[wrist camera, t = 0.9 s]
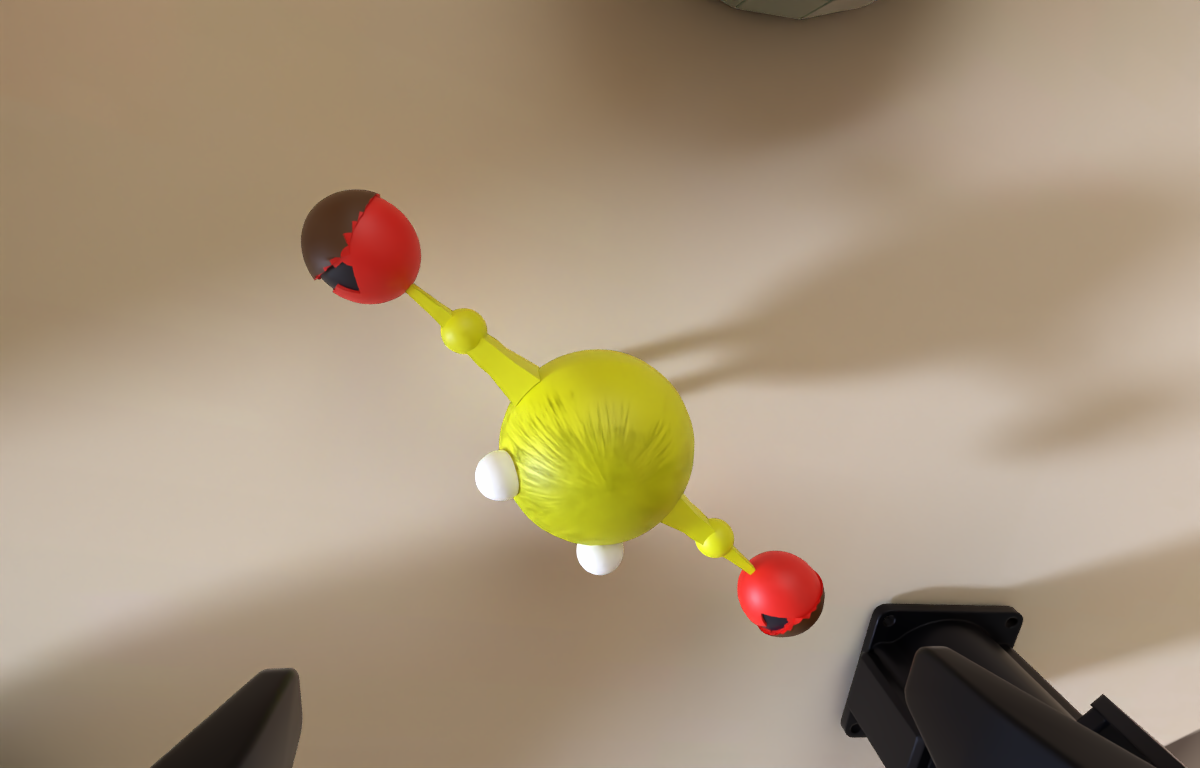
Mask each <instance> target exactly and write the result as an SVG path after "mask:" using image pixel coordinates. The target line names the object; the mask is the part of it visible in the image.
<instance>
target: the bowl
mask: <svg viewBox="0 0 1200 768" xmlns="http://www.w3.org/2000/svg"><path fill="white" fill-rule="evenodd" d="M721 1H722V2H724V3H726V4H728V5H729V6H731V7H733V8H735V7H736V8H737V9H741V10H746V11H752V12H758V13H764V14H770V15H776V16H782V17H788V18H794V19H807V18H812V17H816V16H821V15H826V14H831V13H836V12H841V11H846V10H850V9H855V8H860V7H864V6H866V5H869V4H871V3H873V2H875V1H877V0H721Z"/></svg>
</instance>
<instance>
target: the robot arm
mask: <svg viewBox="0 0 1200 768" xmlns="http://www.w3.org/2000/svg"><path fill="white" fill-rule="evenodd" d="M887 616H888V617H887ZM886 617H887V618H886ZM885 618H886V619H885ZM1022 622H1023V617H1022V615H1021V614H1020V613H1018V612H1017V611H1016V610H1015V609H1014V608H1013V607H1010V606H975V605H925V604H882V605H880V606H878V607H877V608H876V609H875V610H874V612H873V614H872V617H871V620H870V623H869V627H868V630H867V634H866V637H865V640H864V644H863V647H862V651H861V654H860V657H859V661H858V664H857V668H856V671H855V674H854V678H853V681H852V685H851V688H850V691H849V695H848V698H847V702H846V705H845V709H844V712H843V715H842V719H841V726H842V728H843V729H844V731H845V733H846V735H848V736H849V737H854V738H855V737H867V738H868V740H869V741H870V743H871V745H872V746H873V748H874V749H875V751H876V753H877V754H878V756H879V758H880V759H881V761H882V762H883V764H884V766H885V767H886V768H1188V767H1187V766H1186V765H1184V764H1183V763H1182V762H1181V761H1180V760H1179V759H1178V758H1176V757H1175V756H1174V755H1173V754H1172V753H1171V752H1169V751H1168V750H1167V749H1166V748H1165V747H1164V746H1163V745H1161V744H1160V743H1159V742H1158V741H1157V740H1156V739H1154V738H1153V737H1152V736H1151V735H1150V734H1149V733H1148V732H1146V731H1145V730H1144V729H1143V728H1142V727H1141V726H1139V725H1138V724H1137V723H1136V722H1135V721H1134V720H1132V719H1131V718H1130V717H1129V716H1128V715H1127V714H1125V713H1124V712H1123V711H1122V710H1121V709H1120V708H1118V707H1117V706H1116V705H1115V704H1114V703H1113V702H1112V701H1110V700H1109V699H1108V698H1107V697H1106V696H1105V695H1103V694H1102V695H1101V696H1100V697H1099V698H1098V699H1096V700H1095V701H1094V702H1093V703H1092V704H1090V705H1091V706H1092V707H1093V708H1091V709H1090V710H1089V711H1088V712H1087V713H1085V714H1084V715H1081V714H1080V713H1079V712H1078V711H1077V710H1076V709H1075V708H1074V707H1073V706H1072V705H1071V704H1070V703H1069V702H1068V701H1067V700H1066V699H1065V698H1064V697H1063V696H1062V695H1061V694H1060V693H1058V692H1057V691H1056V690H1055V689H1054V688H1053V687H1052V686H1051V685H1050V684H1049V683H1048V682H1047V681H1046V680H1045V679H1044V678H1043V677H1042V676H1041V675H1040V674H1039V673H1038V672H1036V671H1035V670H1034V669H1033V668H1032V667H1031V666H1030V665H1029V664H1028V663H1027V662H1026V661H1025V660H1024V659H1023V658H1022V657H1021V656H1020V655H1019V654H1018V653H1017V652H1016V651H1015V650H1013V646H1014V644H1015V641H1016V638H1017V636H1018V633H1019V630H1020V628H1021V625H1022ZM301 729H302V705H301V693H300V682H299V675H298V673H297V671H296V670H295V669H293V668H280V669H266V670H263V671H261V672H259V673H258V674H257V675H256V676H255V677H253V678H252V679H251V680H250V681H249V682H248V683H247V684H245V685H244V686H243V687H242V688H241V689H240V690H239V691H237V692H236V693H235V694H234V695H233V696H232V697H230V698H229V699H228V700H227V701H226V702H225V703H224V704H222V705H221V706H220V707H219V708H218V709H217V710H216V711H214V712H213V713H212V714H211V715H210V716H209V717H208V718H206V719H205V720H204V721H203V722H202V723H201V724H200V725H198V726H197V727H196V728H195V729H194V730H193V731H192V732H190V733H189V734H188V735H187V736H186V737H185V738H184V739H182V740H181V741H180V742H179V743H178V744H177V745H175V746H174V747H173V748H172V749H171V750H170V751H169V752H167V753H166V754H165V755H164V756H163V757H162V758H161V759H159V760H158V761H157V762H156V763H155V764H154V765H153V766H151V767H150V768H292V765H293V761H294V758H295V754H296V750H297V746H298V742H299V738H300V734H301Z"/></svg>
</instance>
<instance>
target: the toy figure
mask: <svg viewBox="0 0 1200 768" xmlns="http://www.w3.org/2000/svg"><path fill="white" fill-rule="evenodd" d="M301 247H302V253H303V257H304V261H305V264H306V266H307V268H308V270H309V272H310V274H311V276H312V277H313V279H314V280H316V279H321V278H322V279H323V280H324V281H325V282H326V283H327V284H328V285H329V286H331V287H332V288H333V293H335V294H337V295H338V296H340V297H342V298H344V299H347V300H349V301H353V302H356V303H362V304H379V303H384V302H387V301H391V300H393V299H395V298H397V297H399V296H401V295H402V294H404V293H405V292H406V293H407V294H408V295H409V296H410V297H411V298H413V299H414V300H415V301H416V302H417V303H418V304H419V305H420V306H421V307H422V308H423V309H424V310H425V311H427V312H428V313H429V314H430V315H431V316H432V317H433V318H434V319H435V320H436V321H437V322H438V323H439V324H440V326H441V337H442V340H443V342H444V343H445V345H446V346H447V347H448V348H449V349H450V350H452V351H454V352H456V353H459V354H468V355H469V356H470V357H471V358H472V359H473V361H474V362H475V363H476V364H477V365H478V366H479V367H480V368H482V369H483V370H484V371H485V372H487V373H488V374H489V375H490V376H491V378H492V379H493V380H494V381H495V383H496V384H497V385H498V386H499V388H500V389H501V390H502V391H503V392H504V394H505V395H506V396H507V397H508V399H509V400H510V401H511V402H510V404H509V406H508V409H507V411H506V414H505V417H504V420H503V423H502V426H501V431H500V438H499V450H497V451H493V452H490V453H489V454H487V455H486V456H484V457H483V458H482V459H481V460H480V462H479V464H478V466H477V468H476V472H475V480H476V484H477V487H478V489H479V490H480V492H481V493H482V494H483V495H484V496H486V497H487V498H489V499H492V500H495V501H505V500H509V499H511V498H514V500H515V501H516V503H517V504H518V506H519V507H520V508H521V510H522V511H523V512H524V513H525V515H526V516H527V517H528V518H529V519H530V520H531V521H532V522H534V523H535V524H536V525H537V526H539V527H540V528H541V529H543V530H545V531H546V532H548V533H550V534H552V535H554V536H556V537H559V538H561V539H564V540H566V541H569V542H573V543H577V557H578V560H579V563H580V564H581V565H582V567H583V568H584V569H585V570H586V571H588V572H590V573H592V574H595V575H605V574H608V573H611V572H612V571H614V570H615V569H616V568H617V567H618V566H619V564H620V563H621V561H622V558H623V554H624V548H623V543H622V542H625V541H628V540H631V539H634V538H636V537H638V536H640V535H642V534H644V533H646V532H647V531H649V530H651V529H652V528H653V527H655V526H656V525H657V524H659V523H660V522H661V523H664V524H666V525H668V526H670V527H673V528H675V529H677V530H679V531H682V532H684V533H685V534H686V535H687V536H689V537H690V538H691V539H693V540H695V542H696V545H697V547H698V549H699V550H700V551H701V552H702V553H703V554H704V555H706V556H708V557H711V558H719V557H724V558H726V559H728V560H729V561H731V562H733V563H734V564H735V565H737V566H738V567H740V568H741V569H742V571H741V573H740V576H739V579H738V598H739V601H740V604H741V607H742V609H743V611H744V612H745V614H746V615H747V617H748V618H749V619H750V620H751V621H752V622H753V623H754V624H756V625H757V626H758V627H759V629H760V630H761V631H762V632H763V633H765V634H768V635H771V636H775V637H790V636H795V635H798V634H801V633H803V632H805V631H806V630H808V629H809V628H810V627H811V626H812V625H813V624H814V623H815V622H816V621H817V619H818V618H819V616H820V614H821V612H822V609H823V605H824V598H825V593H824V587H823V583H822V580H821V578H820V576H819V575H818V574H817V573H816V572H815V571H814V570H813V569H812V568H811V567H810V566H809V565H808V564H807V563H806V562H805V561H804V560H802V559H801V558H799V557H797V556H795V555H793V554H791V553H788V552H783V551H768V552H764V553H761V554H758V555H757V556H755V557H753V558H752V559H751V560H749V561H748V560H747V559H746V558H745V557H744V556H743V555H742V554H741V553H740V552H739V551H738V550H737V549H736V548H735V547H734V546H733V544H734V534H733V531H732V529H731V527H730V526H729V525H728V524H727V523H726V522H724V521H723V520H721V519H716V518H710V519H708V518H707V517H706V516H705V515H704V514H703V513H702V512H701V511H700V510H699V509H698V508H697V507H696V506H695V505H693V504H692V503H691V502H690V501H689V500H688V498H687V497H686V496H685V495H684V494H683V493H684V491H685V489H686V486H687V484H688V481H689V479H690V475H691V472H692V467H693V459H694V433H693V428H692V423H691V420H690V417H689V415H688V412H687V410H686V407H685V405H684V403H683V401H682V399H681V397H680V395H679V394H678V392H677V391H676V389H675V388H674V387H673V385H672V384H671V383H670V382H669V381H668V380H667V379H666V378H665V377H664V376H663V375H662V374H661V373H659V372H658V371H657V370H655V369H654V368H653V367H652V366H650V365H649V364H647V363H646V362H644V361H642V360H640V359H638V358H636V357H634V356H631V355H628V354H625V353H622V352H617V351H612V350H599V349H597V350H584V351H578V352H573V353H570V354H566V355H564V356H561V357H558V358H556V359H554V360H552V361H550V362H548V363H547V364H545V365H543V366H542V367H540V368H539V367H538V366H537V365H535V364H533V363H532V362H530V361H528V360H526V359H525V358H523V357H521V356H519V355H518V354H516V353H514V352H512V351H511V350H509V349H507V348H506V347H505V346H503V345H502V344H501V343H500V342H499V341H498V340H496V339H495V338H493V337H492V336H490V335H489V334H487V326H486V323H485V321H484V319H483V318H482V316H481V315H480V314H478V313H477V312H475V311H473V310H471V309H466V308H461V309H456V310H454V311H452V310H451V309H449V308H448V307H446V306H445V305H443V304H441V303H440V302H439V301H437V300H436V299H434V298H433V297H432V296H430V295H429V294H428V293H426V292H425V291H423V290H422V289H421V288H419V287H418V286H416V285H415V284H414V281H415V279H416V277H417V275H418V272H419V268H420V263H421V249H420V244H419V240H418V237H417V234H416V232H415V230H414V228H413V226H412V225H411V223H410V222H409V220H408V219H407V218H406V217H405V216H404V214H403V213H402V212H401V211H400V210H398V209H397V208H396V207H395V206H393V205H392V204H391V203H389V202H387V201H386V200H384V199H382V198H380V194H378V193H375V192H371V191H366V190H345V191H341V192H337V193H334V194H332V195H330V196H328V197H326V198H324V199H323V200H321V201H320V202H319V203H318V204H316V205H315V206H314V207H313V209H312V210H311V211H310V213H309V214H308V216H307V218H306V220H305V222H304V225H303V229H302V235H301Z"/></svg>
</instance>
